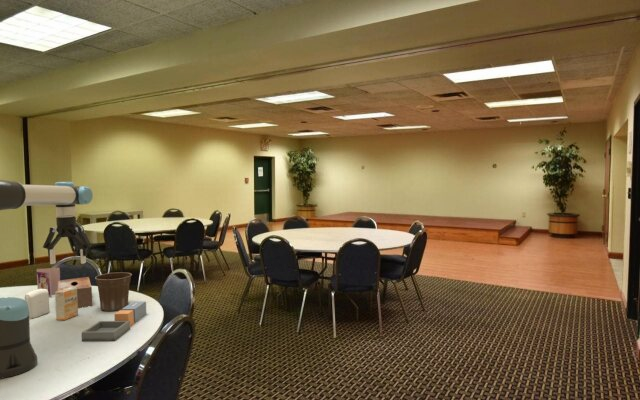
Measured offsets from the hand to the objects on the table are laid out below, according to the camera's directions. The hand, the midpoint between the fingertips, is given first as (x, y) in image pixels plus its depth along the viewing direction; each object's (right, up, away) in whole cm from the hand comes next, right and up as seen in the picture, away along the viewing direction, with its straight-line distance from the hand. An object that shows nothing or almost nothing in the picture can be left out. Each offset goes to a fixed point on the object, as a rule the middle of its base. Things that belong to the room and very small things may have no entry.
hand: (68, 263), depth 188 cm
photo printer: (-20, -26, +9) cm, 34 cm away
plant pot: (+12, -25, +19) cm, 34 cm away
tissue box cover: (-14, -25, +30) cm, 41 cm away
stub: (+28, -26, -6) cm, 39 cm away
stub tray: (+26, -27, -17) cm, 41 cm away
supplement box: (-4, -26, +6) cm, 27 cm away
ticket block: (+28, -26, +3) cm, 38 cm away
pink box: (-36, -24, +43) cm, 61 cm away
